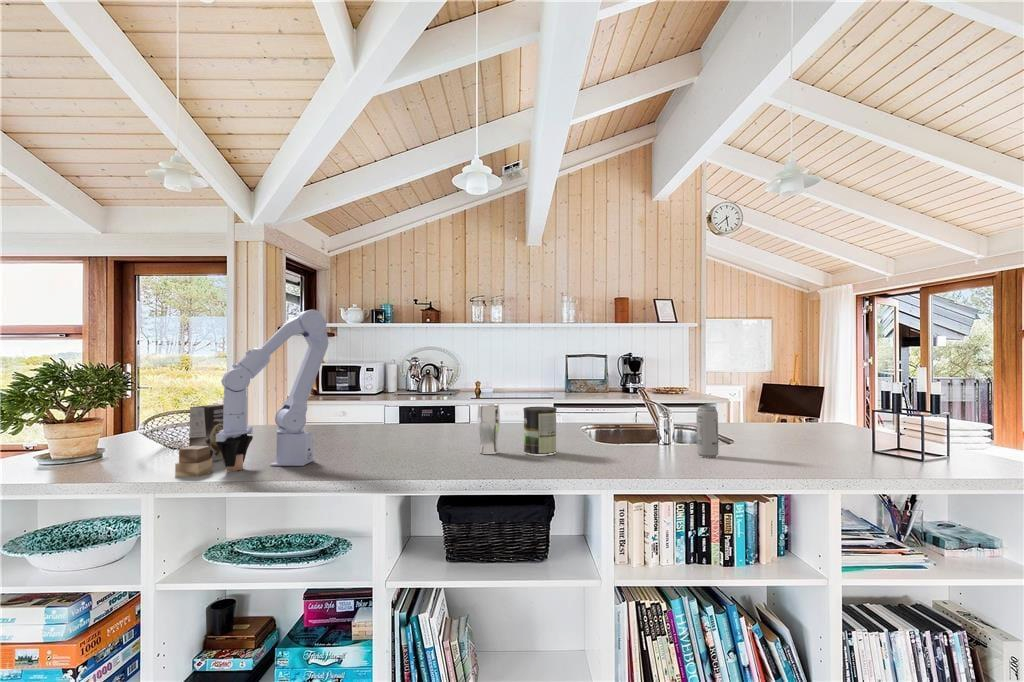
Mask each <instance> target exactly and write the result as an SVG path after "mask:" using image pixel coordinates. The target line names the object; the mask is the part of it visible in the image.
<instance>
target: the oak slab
mask: <svg viewBox="0 0 1024 682" xmlns="http://www.w3.org/2000/svg"><path fill="white" fill-rule="evenodd" d="M174 466H175V467H174V468H175V472H174V475H175V476H174V477H200V476H203V474H204V475H206V474H209V473H211V471H212V472H213V462H212V459H210V460H206V461H203V462H199V463H179V461H178V462H176V463H175V464H174ZM208 472H209V473H208Z"/></svg>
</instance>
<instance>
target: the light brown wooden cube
mask: <svg viewBox="0 0 1024 682" xmlns="http://www.w3.org/2000/svg"><path fill="white" fill-rule="evenodd" d="M225 468H226V469H225V470H227V471H226V472H228V471H234V472H238V471H237V470H241V471H243V470H244V463H243V454H236V461H235V465H234V466H233V467H226V466H225ZM242 469H243V470H242Z"/></svg>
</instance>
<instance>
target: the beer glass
mask: <svg viewBox="0 0 1024 682" xmlns="http://www.w3.org/2000/svg"><path fill="white" fill-rule="evenodd" d="M500 417H501V415H500V404H496V403H495V404H493V403H484V404H478V406H477V427H478V432H479V439H480V440H479V441H480V443H479V444H480V445H479V449H478V450H479V451H478V453H479V452H482V453H492V452H497V451H499V446H498V445H499V444H498V438H499V432H500V431H499V430H500V423H501V418H500Z"/></svg>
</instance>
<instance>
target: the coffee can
mask: <svg viewBox="0 0 1024 682" xmlns="http://www.w3.org/2000/svg"><path fill="white" fill-rule="evenodd" d="M522 409H523V453H524V452H526V453H530V454H549V453H554V452H556V453H557V408H556V407H554V406H527V407H524V408H522Z"/></svg>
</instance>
